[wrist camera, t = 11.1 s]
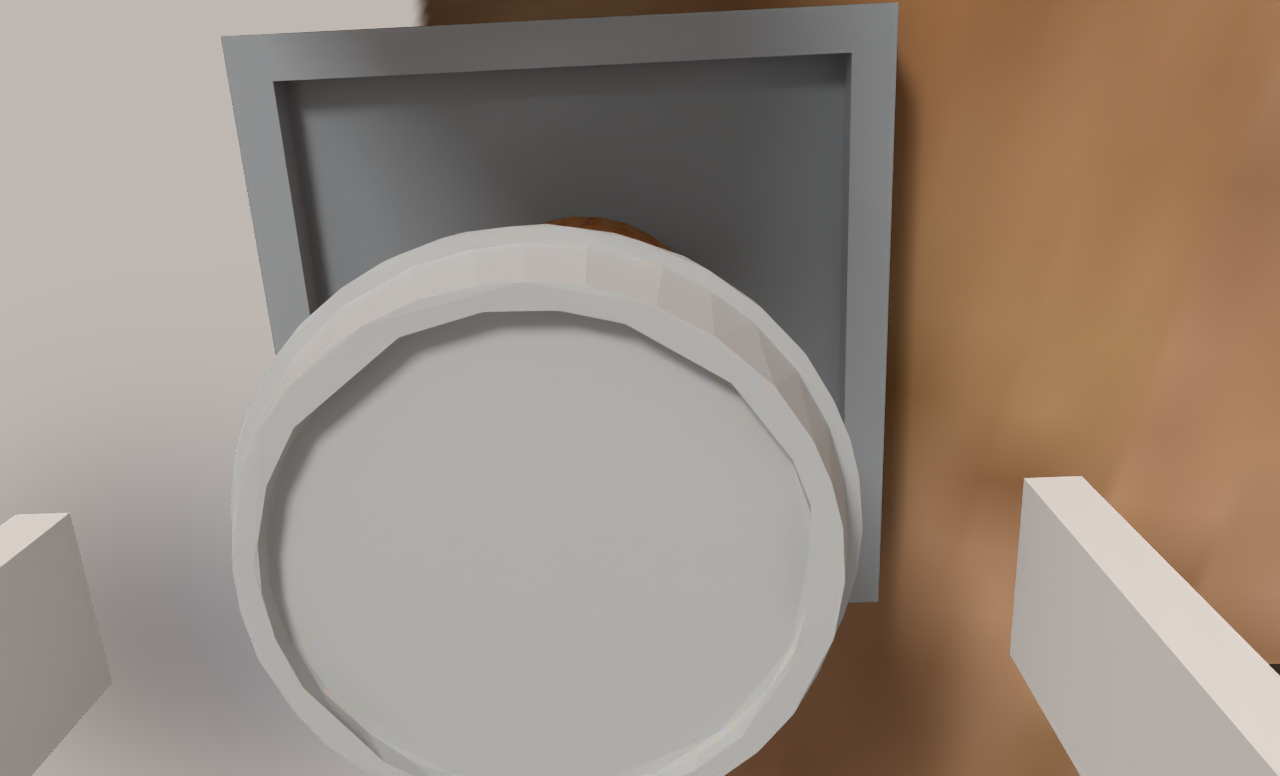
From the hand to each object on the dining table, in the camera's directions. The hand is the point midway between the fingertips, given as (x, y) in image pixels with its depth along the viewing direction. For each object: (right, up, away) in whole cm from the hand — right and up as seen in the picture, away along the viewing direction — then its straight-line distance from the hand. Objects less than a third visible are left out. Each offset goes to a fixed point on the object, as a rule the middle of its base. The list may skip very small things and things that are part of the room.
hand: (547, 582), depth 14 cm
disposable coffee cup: (0, +4, +12) cm, 12 cm away
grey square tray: (0, +5, +13) cm, 14 cm away
